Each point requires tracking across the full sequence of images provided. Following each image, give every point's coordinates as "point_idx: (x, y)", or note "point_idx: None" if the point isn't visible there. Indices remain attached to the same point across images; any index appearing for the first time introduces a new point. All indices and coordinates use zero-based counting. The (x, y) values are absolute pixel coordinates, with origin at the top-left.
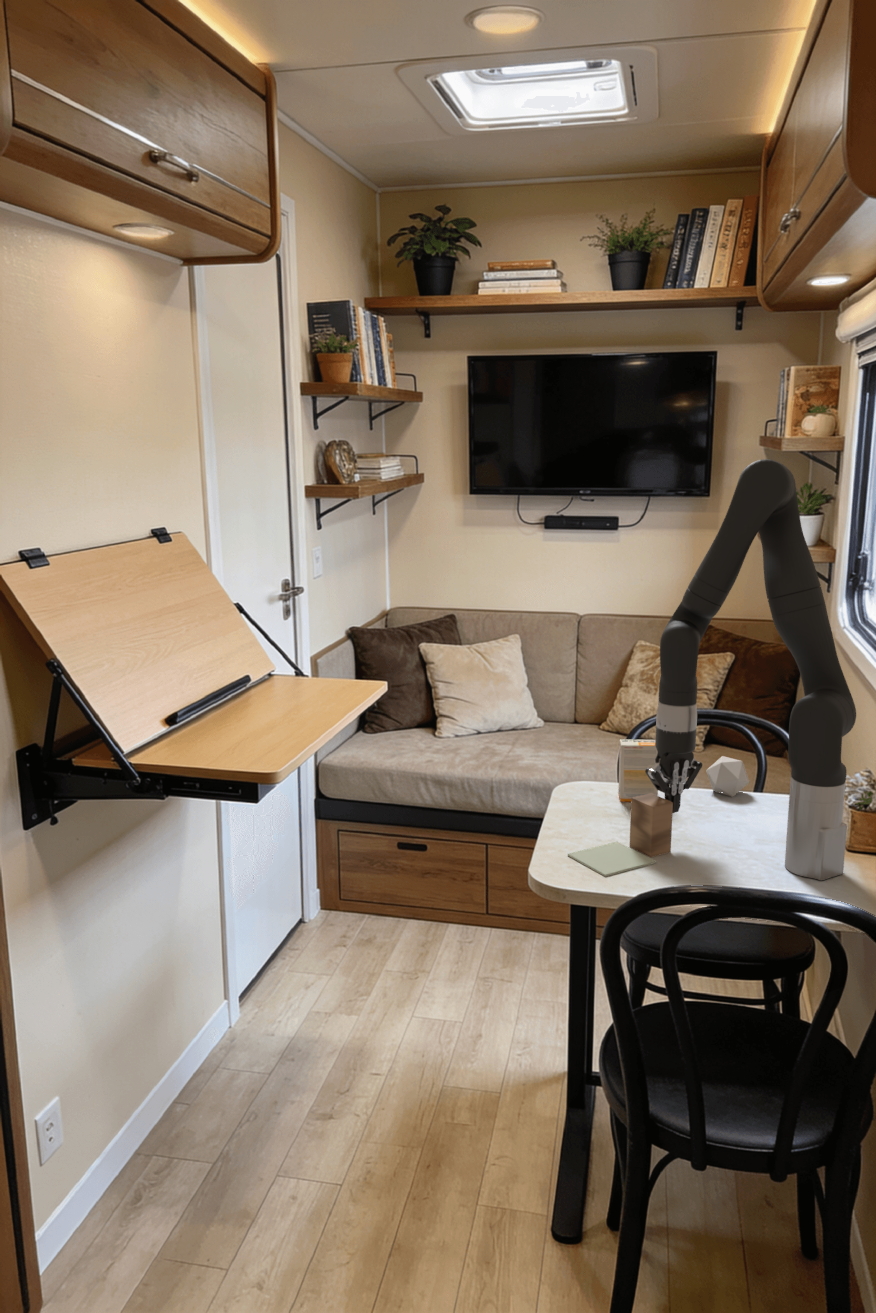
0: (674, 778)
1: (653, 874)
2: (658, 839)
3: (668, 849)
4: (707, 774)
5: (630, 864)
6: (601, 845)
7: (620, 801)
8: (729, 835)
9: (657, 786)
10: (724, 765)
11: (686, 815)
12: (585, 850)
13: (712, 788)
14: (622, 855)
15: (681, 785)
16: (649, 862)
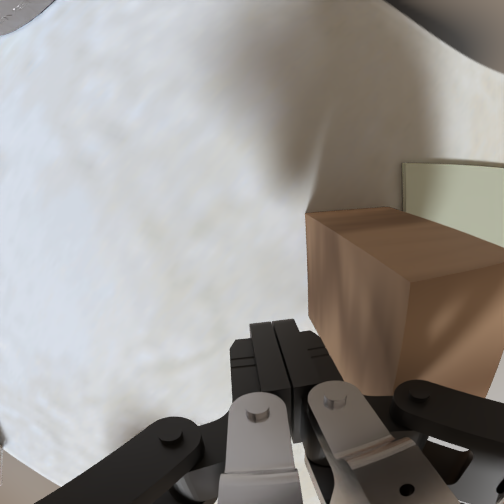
0: (427, 482)
1: (444, 108)
2: (389, 218)
3: (319, 213)
4: (1, 477)
5: (467, 182)
6: None
7: None
8: (33, 252)
9: (427, 449)
10: None
11: (86, 412)
12: None
13: (2, 452)
14: None
15: (255, 448)
16: (425, 164)
